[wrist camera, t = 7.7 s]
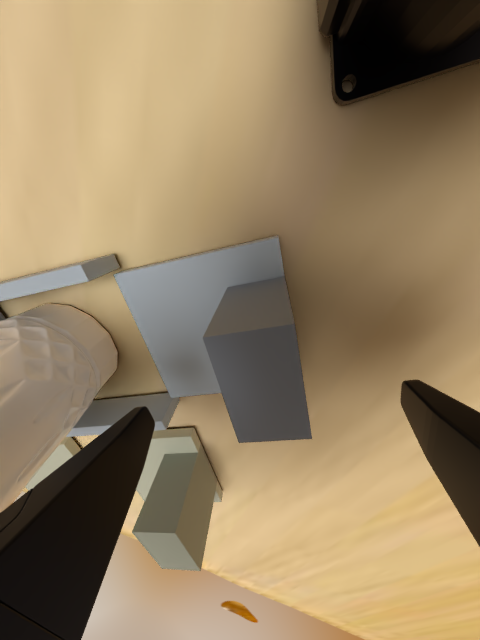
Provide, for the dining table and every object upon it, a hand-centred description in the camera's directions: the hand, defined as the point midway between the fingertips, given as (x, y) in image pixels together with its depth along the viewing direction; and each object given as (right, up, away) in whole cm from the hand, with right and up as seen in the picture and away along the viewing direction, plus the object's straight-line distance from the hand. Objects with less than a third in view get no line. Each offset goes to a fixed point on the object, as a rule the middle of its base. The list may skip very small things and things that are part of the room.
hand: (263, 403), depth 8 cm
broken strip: (-14, -11, +14) cm, 23 cm away
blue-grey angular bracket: (-7, +2, +7) cm, 11 cm away
